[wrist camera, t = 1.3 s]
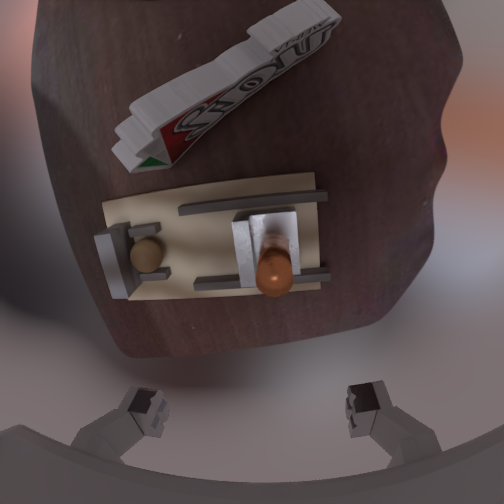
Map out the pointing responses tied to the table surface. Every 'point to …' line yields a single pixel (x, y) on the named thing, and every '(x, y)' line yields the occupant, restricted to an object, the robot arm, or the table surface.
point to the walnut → (146, 255)
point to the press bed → (204, 236)
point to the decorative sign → (219, 86)
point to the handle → (267, 249)
